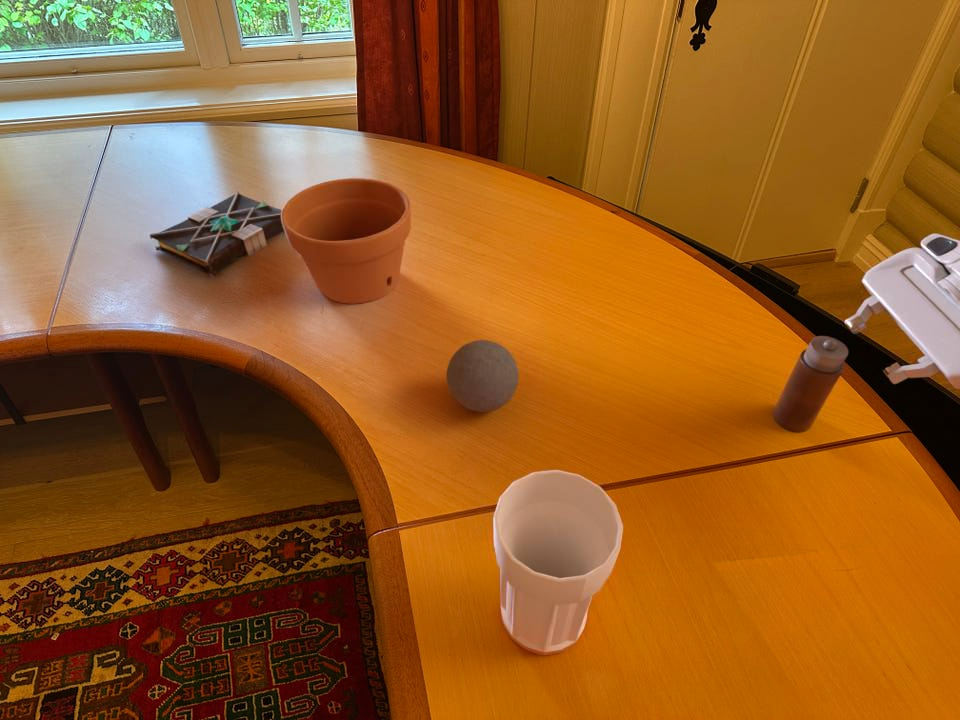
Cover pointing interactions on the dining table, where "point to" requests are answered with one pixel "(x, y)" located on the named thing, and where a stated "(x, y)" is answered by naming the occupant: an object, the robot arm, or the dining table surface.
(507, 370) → the decorative ball
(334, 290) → the flower pot
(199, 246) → the book
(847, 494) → the dining table surface
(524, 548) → the cup
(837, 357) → the pepper mill
